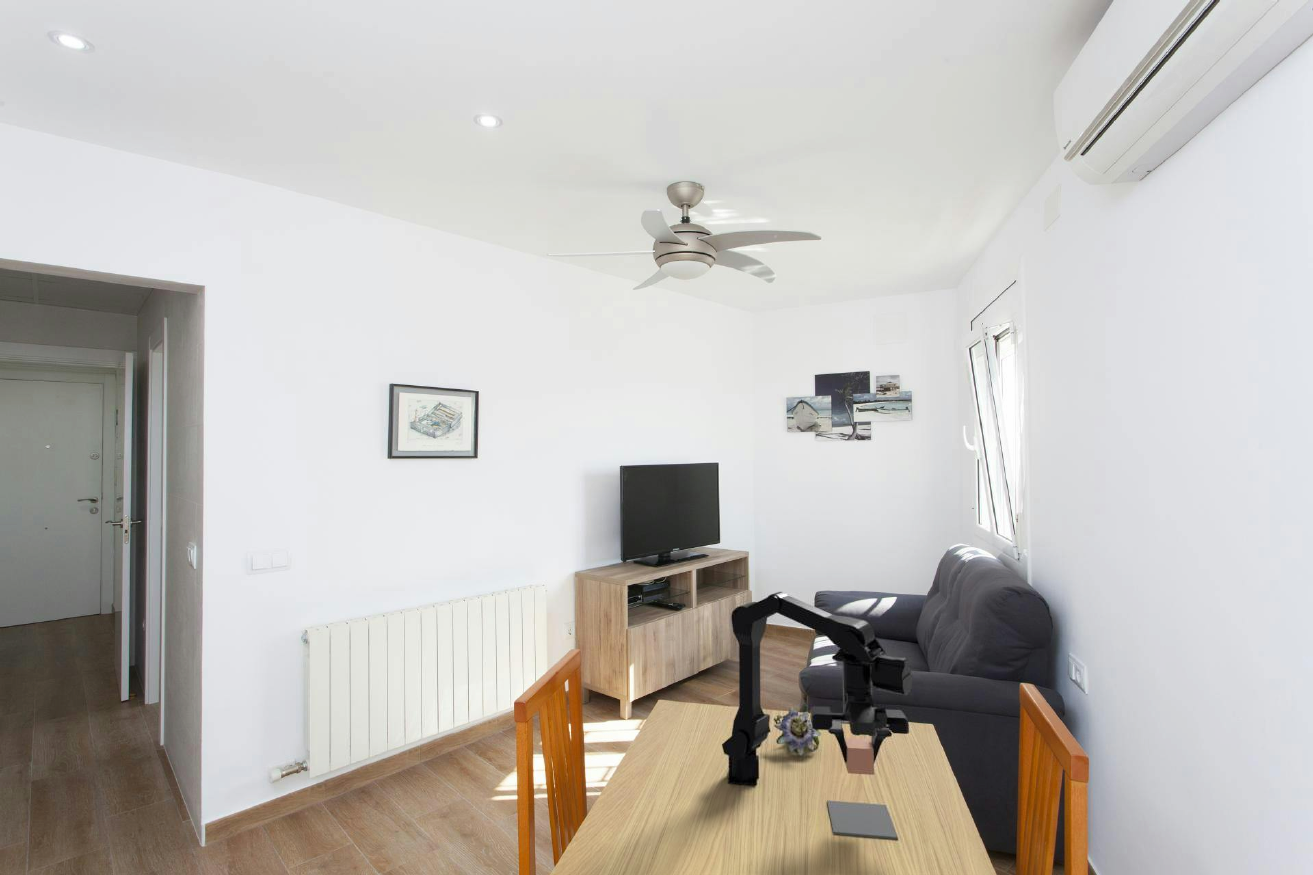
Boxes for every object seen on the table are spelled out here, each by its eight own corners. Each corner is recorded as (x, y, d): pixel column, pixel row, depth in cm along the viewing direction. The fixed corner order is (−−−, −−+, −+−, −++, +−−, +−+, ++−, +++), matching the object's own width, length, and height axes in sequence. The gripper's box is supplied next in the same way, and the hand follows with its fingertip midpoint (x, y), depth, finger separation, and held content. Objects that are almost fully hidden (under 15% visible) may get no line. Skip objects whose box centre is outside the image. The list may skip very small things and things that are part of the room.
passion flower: (800, 777, 162) (778, 744, 158) (779, 750, 172) (758, 718, 169) (835, 748, 164) (814, 714, 160) (812, 723, 174) (792, 691, 171)
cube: (848, 773, 131) (847, 747, 132) (844, 762, 136) (844, 737, 136) (874, 774, 131) (873, 749, 131) (869, 763, 136) (869, 738, 136)
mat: (833, 833, 128) (833, 831, 128) (827, 802, 140) (827, 800, 140) (898, 839, 126) (898, 837, 126) (885, 806, 138) (885, 804, 138)
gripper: (814, 696, 128) (815, 778, 127) (914, 700, 125) (916, 784, 124) (809, 677, 139) (810, 753, 138) (901, 681, 136) (903, 758, 135)
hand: (859, 762), depth 133 cm, fingers closed on cube, 5 cm apart
